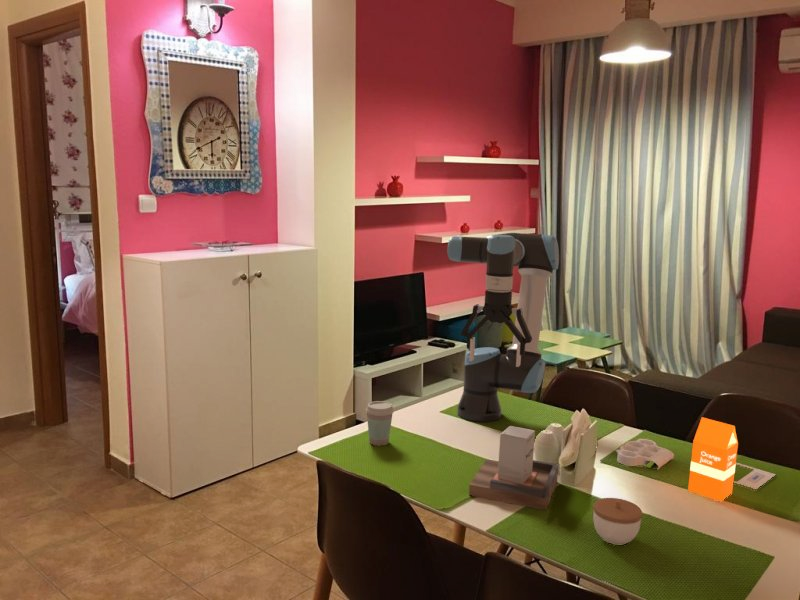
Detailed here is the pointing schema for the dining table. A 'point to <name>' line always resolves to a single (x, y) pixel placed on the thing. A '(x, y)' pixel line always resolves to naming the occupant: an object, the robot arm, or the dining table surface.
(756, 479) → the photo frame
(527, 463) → the supplement box
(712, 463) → the orange juice
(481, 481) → the dock
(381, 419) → the coffee cup
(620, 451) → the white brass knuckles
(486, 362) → the robot arm
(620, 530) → the lidded jar
